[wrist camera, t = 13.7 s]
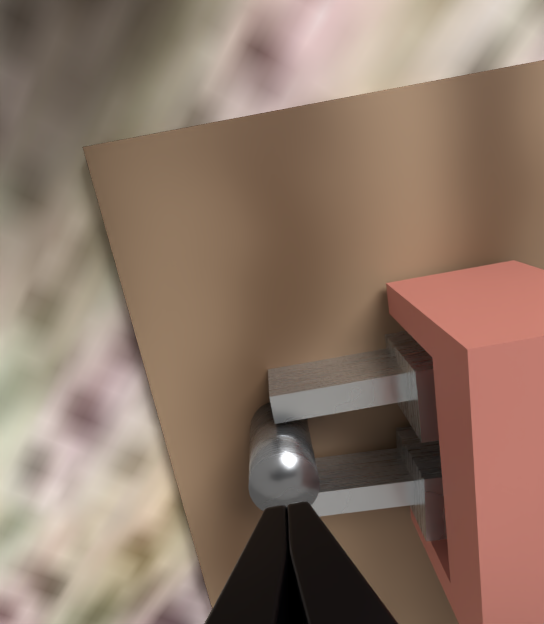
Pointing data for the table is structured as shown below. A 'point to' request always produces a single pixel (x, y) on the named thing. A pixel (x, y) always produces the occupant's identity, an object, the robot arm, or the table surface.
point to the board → (311, 277)
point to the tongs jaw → (387, 482)
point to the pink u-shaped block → (486, 433)
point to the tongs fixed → (333, 412)
